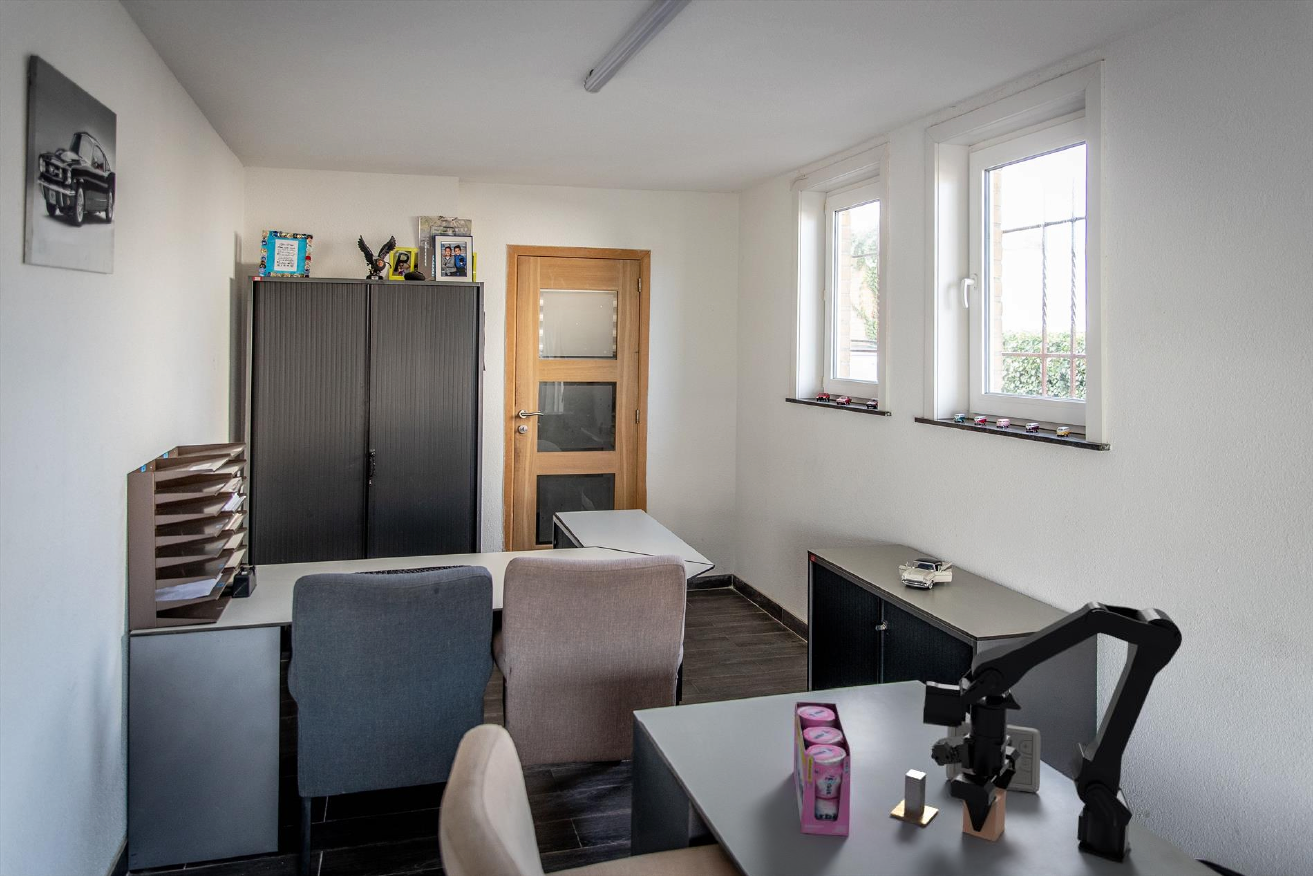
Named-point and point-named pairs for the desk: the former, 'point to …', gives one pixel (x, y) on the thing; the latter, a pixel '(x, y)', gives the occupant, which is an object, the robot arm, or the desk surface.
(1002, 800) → the tan cardboard box
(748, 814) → the desk surface
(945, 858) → the desk surface
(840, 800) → the gum box
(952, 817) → the desk surface
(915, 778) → the post on square base
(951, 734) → the digital clock
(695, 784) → the desk surface
